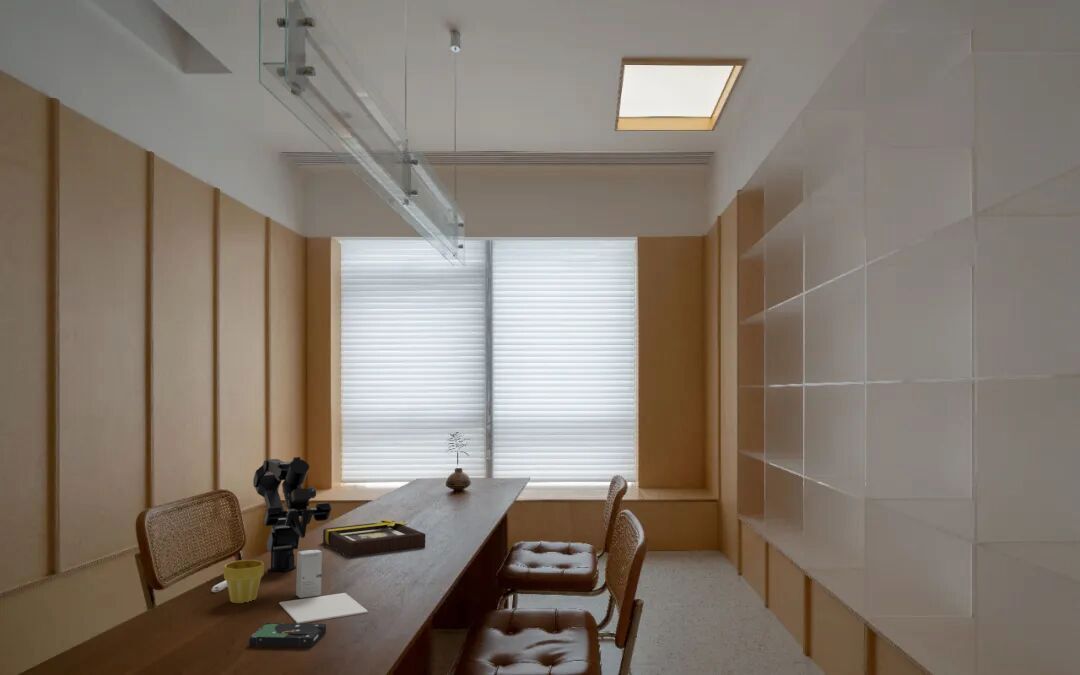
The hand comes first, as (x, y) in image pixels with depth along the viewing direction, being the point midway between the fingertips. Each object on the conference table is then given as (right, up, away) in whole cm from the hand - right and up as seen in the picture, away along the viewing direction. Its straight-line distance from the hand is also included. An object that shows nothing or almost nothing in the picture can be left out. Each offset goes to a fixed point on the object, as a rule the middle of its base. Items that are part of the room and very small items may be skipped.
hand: (303, 536), depth 228 cm
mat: (+12, -13, -23) cm, 29 cm away
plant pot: (-12, -13, -16) cm, 24 cm away
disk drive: (+11, -12, -48) cm, 50 cm away
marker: (-22, -15, 0) cm, 26 cm away
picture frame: (+9, -18, +55) cm, 59 cm away
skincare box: (+5, -14, -11) cm, 18 cm away
